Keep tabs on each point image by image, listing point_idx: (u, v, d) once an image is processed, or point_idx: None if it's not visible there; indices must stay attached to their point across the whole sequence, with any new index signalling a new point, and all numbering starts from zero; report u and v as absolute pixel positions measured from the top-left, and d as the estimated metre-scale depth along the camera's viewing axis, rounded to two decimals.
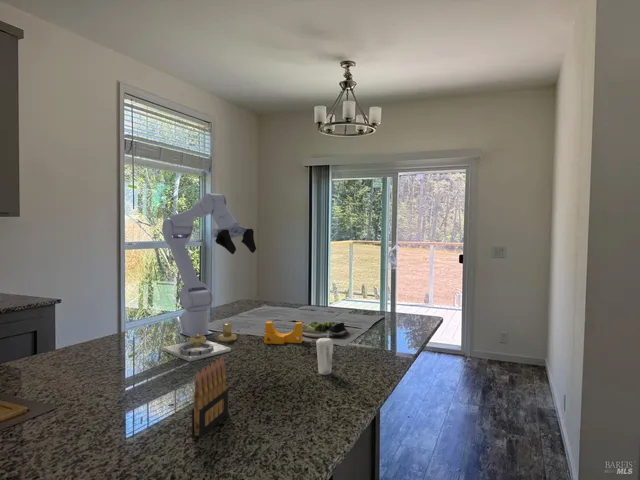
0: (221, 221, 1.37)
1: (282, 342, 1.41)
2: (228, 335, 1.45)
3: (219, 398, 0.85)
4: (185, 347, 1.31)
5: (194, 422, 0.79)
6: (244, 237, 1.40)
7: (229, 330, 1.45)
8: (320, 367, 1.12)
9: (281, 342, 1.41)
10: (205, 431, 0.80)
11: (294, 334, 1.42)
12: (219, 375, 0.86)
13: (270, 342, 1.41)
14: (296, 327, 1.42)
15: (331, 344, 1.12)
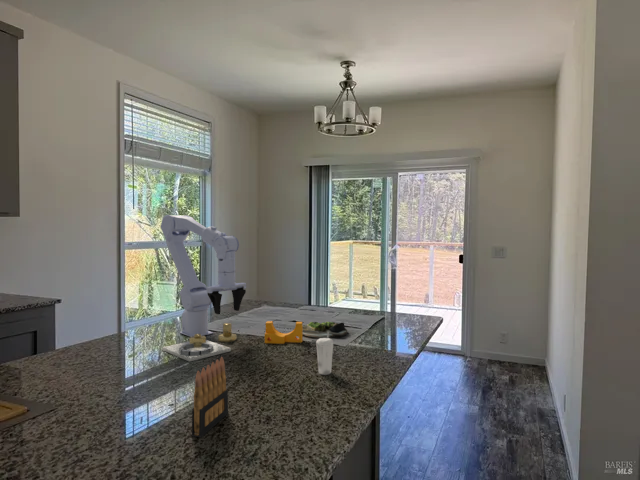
0: (222, 276, 1.43)
1: (282, 342, 1.41)
2: (228, 335, 1.45)
3: (219, 398, 0.85)
4: (185, 347, 1.31)
5: (194, 422, 0.79)
6: (235, 292, 1.48)
7: (229, 330, 1.45)
8: (320, 367, 1.12)
9: (281, 342, 1.41)
10: (205, 431, 0.80)
11: (294, 333, 1.43)
12: (219, 375, 0.86)
13: (270, 342, 1.42)
14: (296, 327, 1.43)
15: (331, 344, 1.12)
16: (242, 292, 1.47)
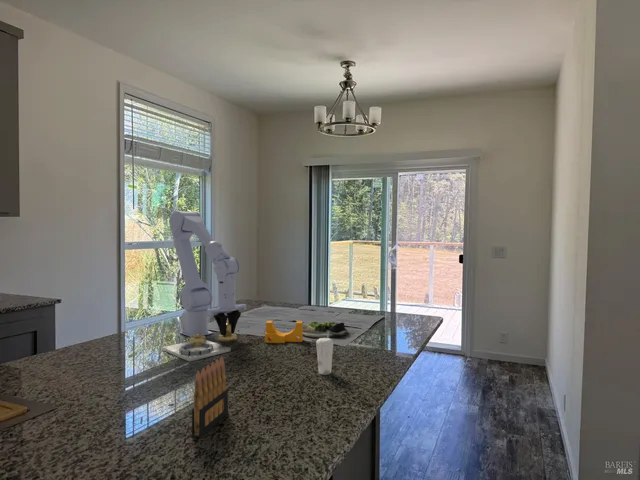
0: (222, 299, 1.43)
1: (283, 341, 1.42)
2: (228, 335, 1.45)
3: (219, 398, 0.85)
4: (185, 347, 1.31)
5: (194, 422, 0.79)
6: (230, 314, 1.47)
7: (229, 330, 1.45)
8: (320, 367, 1.12)
9: (282, 341, 1.42)
10: (205, 431, 0.80)
11: (294, 333, 1.44)
12: (219, 375, 0.86)
13: (271, 341, 1.42)
14: (297, 326, 1.43)
15: (331, 344, 1.12)
16: (237, 315, 1.46)
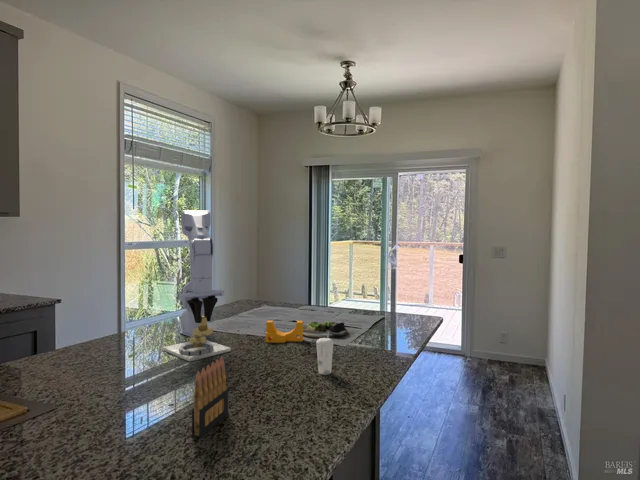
0: (196, 282, 1.30)
1: (283, 341, 1.43)
2: (202, 329, 1.32)
3: (219, 398, 0.85)
4: (185, 347, 1.31)
5: (194, 422, 0.79)
6: (206, 300, 1.34)
7: (204, 323, 1.32)
8: (320, 367, 1.12)
9: (282, 341, 1.43)
10: (205, 431, 0.80)
11: (295, 332, 1.44)
12: (219, 375, 0.86)
13: (271, 341, 1.43)
14: (297, 326, 1.44)
15: (331, 344, 1.12)
16: (213, 300, 1.32)
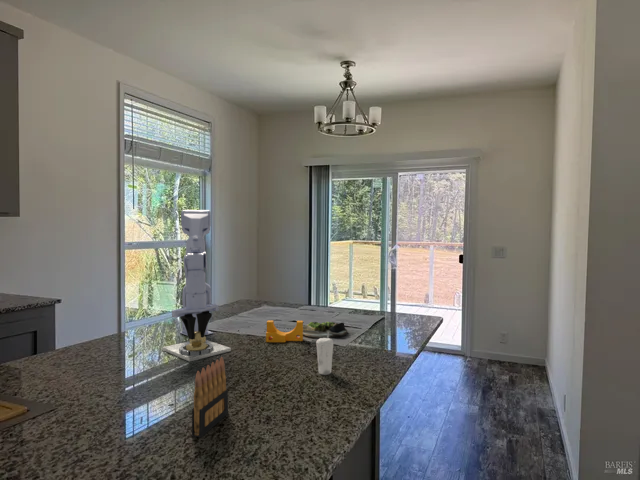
0: (190, 298, 1.27)
1: (284, 340, 1.43)
2: (196, 345, 1.29)
3: (219, 398, 0.85)
4: (185, 347, 1.31)
5: (194, 422, 0.79)
6: (200, 316, 1.31)
7: (197, 339, 1.29)
8: (320, 367, 1.12)
9: (282, 340, 1.43)
10: (205, 431, 0.80)
11: (295, 332, 1.45)
12: (219, 375, 0.86)
13: (272, 341, 1.43)
14: (297, 325, 1.44)
15: (331, 344, 1.12)
16: (207, 316, 1.30)
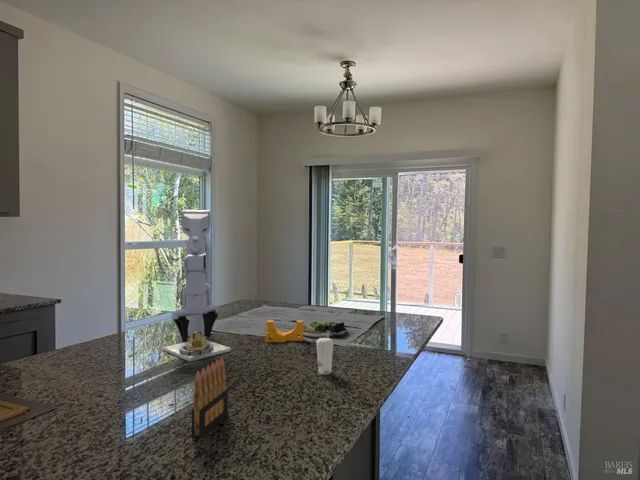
0: (190, 299, 1.27)
1: (284, 340, 1.43)
2: (196, 345, 1.29)
3: (219, 398, 0.85)
4: (185, 347, 1.31)
5: (194, 422, 0.79)
6: (206, 316, 1.33)
7: (197, 339, 1.29)
8: (320, 367, 1.12)
9: (283, 340, 1.43)
10: (205, 431, 0.80)
11: (295, 332, 1.45)
12: (219, 375, 0.86)
13: (272, 341, 1.43)
14: (297, 325, 1.45)
15: (331, 344, 1.12)
16: (213, 316, 1.31)
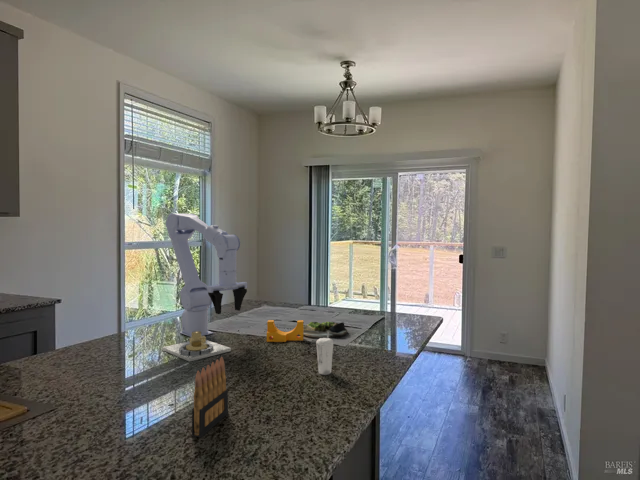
0: (223, 275, 1.40)
1: (284, 340, 1.44)
2: (196, 345, 1.29)
3: (219, 398, 0.85)
4: (185, 347, 1.31)
5: (194, 422, 0.79)
6: (236, 291, 1.46)
7: (197, 339, 1.29)
8: (320, 367, 1.12)
9: (283, 340, 1.44)
10: (205, 431, 0.80)
11: (295, 332, 1.45)
12: (219, 375, 0.86)
13: (272, 340, 1.44)
14: (298, 325, 1.45)
15: (331, 344, 1.12)
16: (243, 291, 1.45)
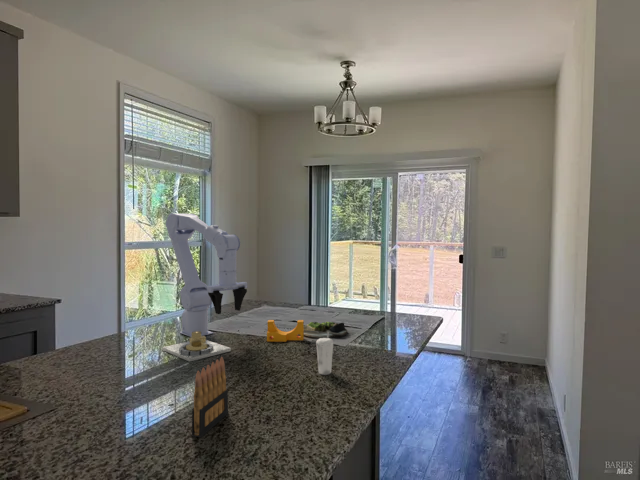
0: (223, 275, 1.40)
1: (285, 340, 1.44)
2: (196, 345, 1.29)
3: (219, 398, 0.85)
4: (185, 347, 1.31)
5: (194, 422, 0.79)
6: (236, 291, 1.46)
7: (197, 339, 1.29)
8: (320, 367, 1.12)
9: (283, 340, 1.44)
10: (205, 431, 0.80)
11: (296, 331, 1.45)
12: (219, 375, 0.86)
13: (273, 340, 1.44)
14: (298, 325, 1.45)
15: (331, 344, 1.12)
16: (243, 291, 1.45)
